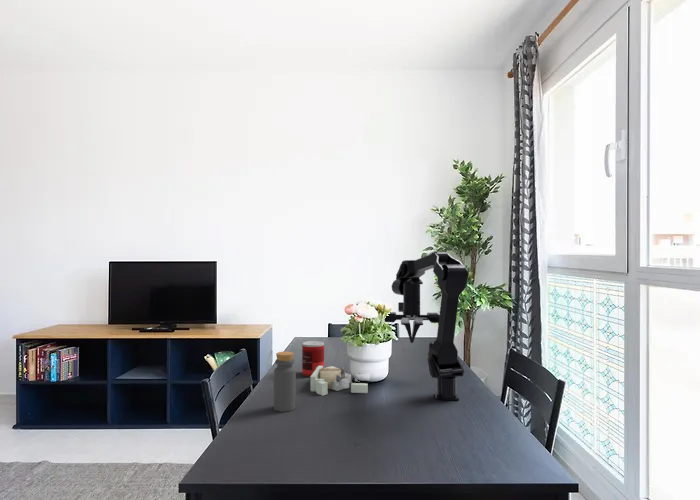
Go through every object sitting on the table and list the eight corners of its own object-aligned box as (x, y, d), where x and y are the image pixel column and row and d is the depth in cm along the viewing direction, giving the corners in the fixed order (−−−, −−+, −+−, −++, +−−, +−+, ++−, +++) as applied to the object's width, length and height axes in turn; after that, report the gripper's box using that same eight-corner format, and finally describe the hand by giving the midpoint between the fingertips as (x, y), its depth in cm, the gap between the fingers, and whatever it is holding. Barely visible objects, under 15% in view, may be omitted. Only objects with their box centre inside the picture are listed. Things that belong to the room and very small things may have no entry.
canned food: (325, 371, 160) (325, 341, 161) (322, 377, 152) (322, 345, 153) (304, 371, 161) (304, 340, 161) (300, 376, 153) (300, 344, 153)
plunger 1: (344, 386, 141) (344, 373, 141) (349, 387, 139) (349, 374, 139) (331, 389, 138) (331, 375, 138) (336, 390, 136) (336, 377, 136)
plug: (339, 389, 139) (339, 373, 139) (317, 388, 140) (317, 372, 140) (342, 383, 146) (342, 367, 146) (321, 382, 147) (321, 367, 147)
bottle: (291, 412, 118) (291, 355, 118) (270, 411, 119) (270, 354, 119) (298, 405, 123) (298, 351, 124) (278, 404, 125) (278, 350, 125)
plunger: (351, 382, 145) (351, 369, 146) (345, 383, 144) (345, 370, 144) (341, 379, 149) (341, 366, 149) (336, 380, 148) (336, 367, 148)
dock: (366, 397, 131) (366, 381, 131) (308, 395, 133) (308, 379, 133) (370, 377, 152) (370, 364, 153) (320, 375, 154) (320, 362, 154)
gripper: (436, 295, 160) (436, 338, 159) (384, 294, 161) (384, 338, 161) (440, 298, 148) (440, 344, 148) (384, 297, 150) (384, 344, 149)
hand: (411, 342), depth 152 cm, fingers closed
